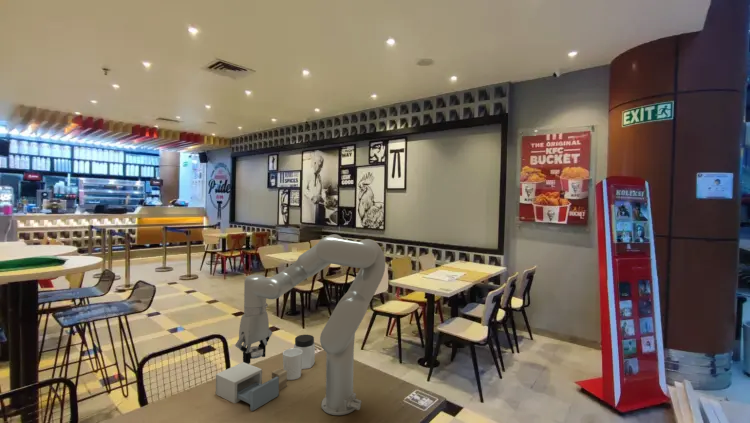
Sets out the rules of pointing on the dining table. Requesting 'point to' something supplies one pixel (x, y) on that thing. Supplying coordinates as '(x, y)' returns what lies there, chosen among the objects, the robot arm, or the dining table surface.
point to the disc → (256, 352)
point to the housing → (236, 380)
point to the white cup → (292, 363)
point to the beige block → (280, 377)
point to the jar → (306, 349)
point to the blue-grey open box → (259, 393)
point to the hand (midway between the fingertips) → (254, 358)
